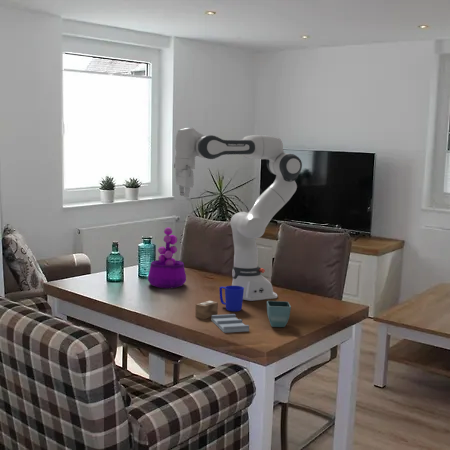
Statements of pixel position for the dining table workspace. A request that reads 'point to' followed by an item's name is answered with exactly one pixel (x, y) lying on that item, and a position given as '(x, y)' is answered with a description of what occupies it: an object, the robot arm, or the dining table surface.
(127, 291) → the dining table surface
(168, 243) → the decorative plant
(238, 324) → the grey ridged tray
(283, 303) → the flower pot
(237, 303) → the mug
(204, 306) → the brown block
